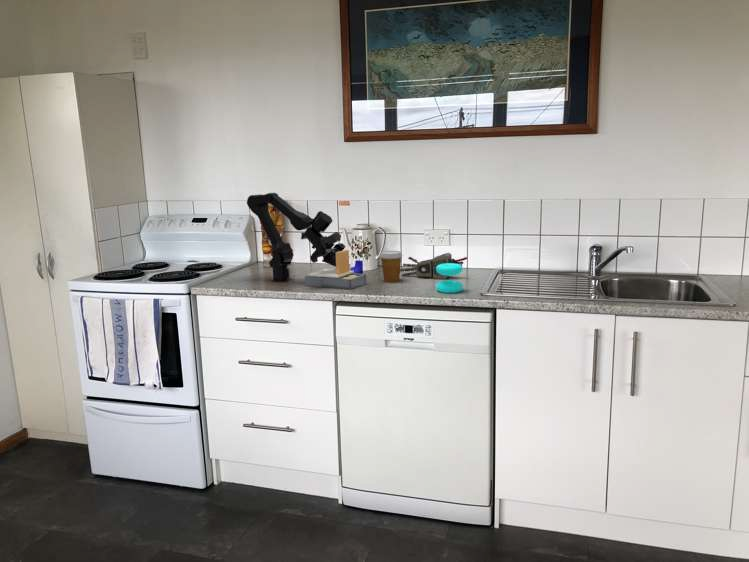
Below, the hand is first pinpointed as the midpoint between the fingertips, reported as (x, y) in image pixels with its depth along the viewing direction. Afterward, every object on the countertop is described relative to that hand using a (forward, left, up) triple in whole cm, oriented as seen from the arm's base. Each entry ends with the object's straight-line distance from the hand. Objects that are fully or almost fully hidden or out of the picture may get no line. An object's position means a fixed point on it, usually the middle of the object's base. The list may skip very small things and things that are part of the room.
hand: (341, 267), depth 240 cm
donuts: (+43, -13, -7) cm, 46 cm away
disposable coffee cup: (+20, +8, -7) cm, 23 cm away
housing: (-3, +1, -7) cm, 8 cm away
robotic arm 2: (+37, +14, -8) cm, 40 cm away
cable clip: (+1, +21, -8) cm, 23 cm away
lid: (-4, +2, -3) cm, 6 cm away
